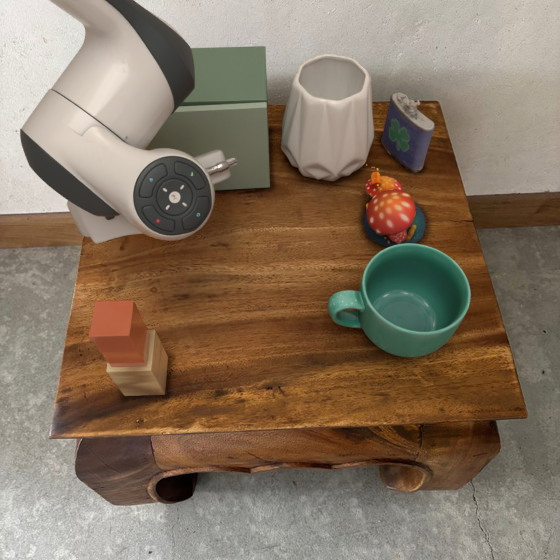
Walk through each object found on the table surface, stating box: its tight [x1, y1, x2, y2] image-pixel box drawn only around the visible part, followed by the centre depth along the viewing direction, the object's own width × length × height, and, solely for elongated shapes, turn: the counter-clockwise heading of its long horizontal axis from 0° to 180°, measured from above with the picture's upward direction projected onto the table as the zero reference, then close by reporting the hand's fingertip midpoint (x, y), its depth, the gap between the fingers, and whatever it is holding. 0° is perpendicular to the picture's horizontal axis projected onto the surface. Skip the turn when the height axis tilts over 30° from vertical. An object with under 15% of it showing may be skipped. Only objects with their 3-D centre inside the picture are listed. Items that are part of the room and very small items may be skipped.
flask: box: [380, 91, 436, 173], centre depth 83 cm, size 9×3×11 cm, turn 30°
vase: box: [280, 53, 375, 182], centre depth 81 cm, size 14×14×15 cm
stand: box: [105, 329, 169, 397], centre depth 65 cm, size 5×5×8 cm
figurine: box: [362, 163, 427, 248], centre depth 77 cm, size 12×9×8 cm
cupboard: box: [179, 45, 271, 172], centre depth 81 cm, size 11×20×16 cm, turn 92°
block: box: [88, 299, 150, 367], centre depth 58 cm, size 4×4×8 cm
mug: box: [327, 243, 472, 358], centre depth 68 cm, size 17×13×10 cm
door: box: [145, 102, 271, 191], centre depth 76 cm, size 7×20×16 cm, turn 94°
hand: (146, 187), depth 75 cm, fingers closed on door, 2 cm apart
